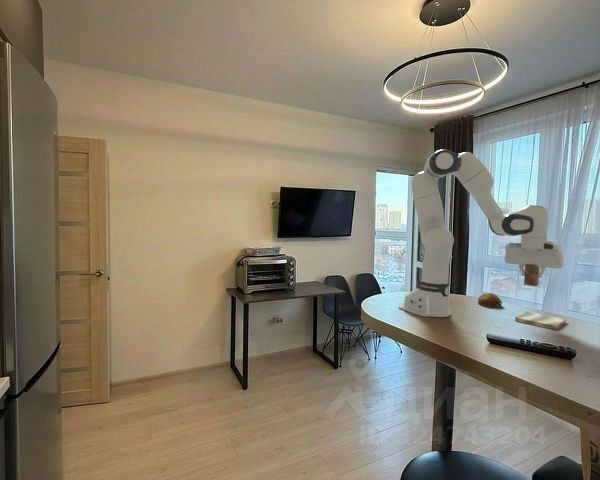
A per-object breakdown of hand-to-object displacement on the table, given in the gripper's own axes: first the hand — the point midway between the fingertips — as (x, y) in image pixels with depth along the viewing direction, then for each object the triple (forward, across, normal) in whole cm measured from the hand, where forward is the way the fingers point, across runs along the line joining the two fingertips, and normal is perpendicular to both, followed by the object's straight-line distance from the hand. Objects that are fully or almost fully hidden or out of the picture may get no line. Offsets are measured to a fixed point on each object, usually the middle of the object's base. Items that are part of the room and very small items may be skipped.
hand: (531, 276), depth 137 cm
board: (+19, +4, 0) cm, 19 cm away
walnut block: (+4, 0, 0) cm, 4 cm away
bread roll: (+19, -20, +12) cm, 30 cm away
